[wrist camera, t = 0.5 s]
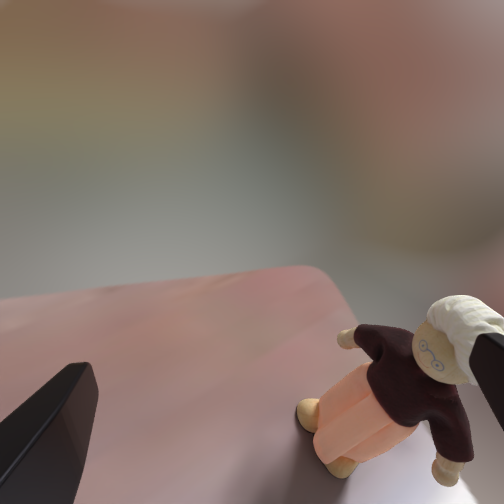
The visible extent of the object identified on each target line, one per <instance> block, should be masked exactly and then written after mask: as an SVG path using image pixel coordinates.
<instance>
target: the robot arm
mask: <svg viewBox="0 0 504 504" xmlns="http://www.w3.org/2000/svg"><path fill="white" fill-rule="evenodd" d="M469 367H470V369H471V371H472V373H473V375H474V377H475V379H476V381H477V383H478V385H479V386H480V388H481V390H482V392H483V394H484V396H485V398H486V400H487V402H488V403H489V405H490V407H491V409H492V411H493V413H494V414H495V416H496V418H497V420H498V422H499V424H500V425H501V427H502V429H503V431H504V335H503V334H500V333H497V332H491V333H481V334H479V335H478V336H477V337H476V340H475V343H474V345H473V348H472V351H471V354H470V356H469ZM97 402H98V386H97V383H96V379H95V376H94V373H93V369H92V366H91V364H90V363H88V362H79V363H70V364H68V365H67V366H65V367H64V368H63V369H62V370H61V371H60V372H58V373H57V374H56V375H55V376H54V377H53V378H52V379H50V380H49V381H48V382H47V383H46V384H45V385H43V386H42V387H41V388H40V389H39V390H38V391H36V392H35V393H34V394H33V395H32V396H31V397H29V398H28V399H27V400H26V401H25V402H24V403H22V404H21V405H20V406H19V407H18V408H17V409H15V410H14V411H13V412H12V413H11V414H10V415H8V416H7V417H6V418H5V419H4V420H3V421H2V422H0V504H73V503H74V499H75V496H76V493H77V490H78V487H79V483H80V480H81V477H82V473H83V469H84V465H85V461H86V456H87V451H88V446H89V441H90V436H91V432H92V427H93V422H94V417H95V412H96V407H97Z"/></svg>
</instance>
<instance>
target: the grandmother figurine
mask: <svg viewBox="0 0 504 504" xmlns="http://www.w3.org/2000/svg"><path fill="white" fill-rule="evenodd" d="M491 332H497V333H500V334H503V335H504V318H503V317H502V316H501V315H499V314H498V313H496V312H495V311H493V310H492V309H491V308H490V307H488V306H487V305H485V304H484V303H482V302H481V301H480V300H478V299H476V298H473V297H471V296H466V295H457V296H450V297H446V298H443V299H441V300H439V301H437V302H435V303H434V304H433V305H432V306H431V308H430V309H429V311H428V313H427V317H426V321H425V322H424V323H422V324H421V325H420V326H419V327H418V329H417V330H416V332H415V334H413V333H411V332H409V331H407V330H405V329H401V328H396V327H388V326H380V325H368V324H361V325H359V326H358V327H356V328H352V329H350V330H343V331H341V332H340V333H339V334H338V336H337V342H338V344H339V345H340V347H342V348H343V349H352V348H362V349H363V350H364V351H365V352H366V353H367V355H368V356H369V357H370V358H371V359H372V360H373V362H368V363H365V364H362V365H360V366H359V367H357V368H356V369H354V370H353V371H352V372H350V373H349V374H348V375H347V376H346V377H344V378H343V379H342V380H341V381H339V382H338V383H337V384H336V385H334V386H333V387H332V388H331V389H329V390H328V391H327V392H326V393H325V394H324V395H323V396H322V397H321V398H320V399H304V400H302V401H301V402H300V403H299V404H298V406H297V415H298V419H299V421H300V423H301V425H302V426H303V427H304V428H305V429H306V430H307V431H309V432H312V433H315V435H314V438H313V444H314V448H315V452H316V454H317V456H318V457H319V459H320V460H321V461H322V462H323V463H324V464H325V466H326V467H327V469H328V471H329V472H330V473H331V474H332V475H334V476H335V477H337V478H346V477H348V476H349V475H350V474H351V473H352V472H353V470H354V469H355V468H356V466H357V465H358V464H359V463H363V462H365V461H367V460H370V459H372V458H374V457H377V456H378V455H380V454H383V453H385V452H386V451H388V450H390V449H391V448H392V447H394V446H395V445H397V444H398V443H400V442H401V441H403V440H404V439H406V438H407V437H408V436H410V435H411V434H412V433H413V432H414V431H415V429H416V428H417V426H418V425H419V423H420V421H424V420H428V421H429V424H430V429H431V433H432V437H433V441H434V445H435V447H436V450H437V452H436V458H437V459H435V460H434V462H433V464H432V474H433V477H434V478H435V480H436V481H437V482H438V483H439V484H441V485H443V486H446V487H451V486H454V485H455V484H456V483H457V481H458V479H459V472H460V471H461V470H462V469H463V467H464V464H465V462H469V461H471V460H473V458H474V451H473V445H472V440H471V431H470V425H469V420H468V417H467V415H466V412H465V409H464V407H463V405H462V403H461V400H460V398H459V395H458V391H457V388H456V385H455V384H463V383H468V382H470V383H471V384H472V385H478V383H477V381H476V379H475V377H474V375H473V373H472V371H471V369H470V367H469V356H470V354H471V351H472V348H473V345H474V343H475V340H476V337H477V336H478V335H479V334H481V333H491ZM478 386H479V385H478Z"/></svg>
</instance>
